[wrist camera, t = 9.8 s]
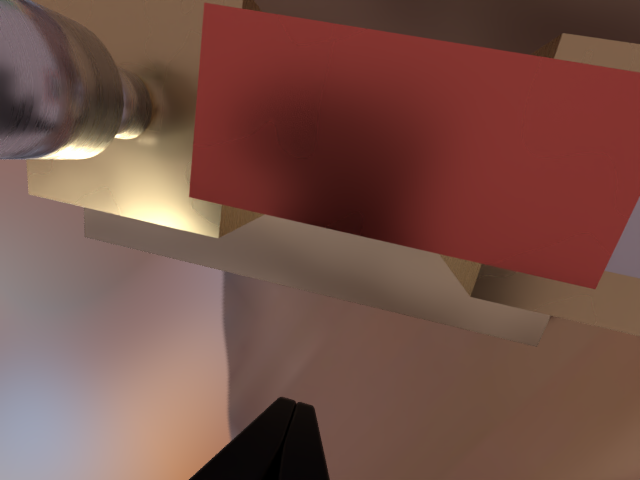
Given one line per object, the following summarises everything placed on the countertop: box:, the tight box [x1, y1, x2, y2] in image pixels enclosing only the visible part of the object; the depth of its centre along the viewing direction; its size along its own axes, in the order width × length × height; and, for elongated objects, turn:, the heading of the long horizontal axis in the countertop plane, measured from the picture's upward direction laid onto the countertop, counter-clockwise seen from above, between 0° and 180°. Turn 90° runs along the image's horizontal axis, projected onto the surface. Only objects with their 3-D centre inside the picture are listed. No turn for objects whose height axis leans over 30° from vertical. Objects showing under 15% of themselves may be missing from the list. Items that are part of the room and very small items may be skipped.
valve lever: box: [189, 3, 640, 289], centre depth 4 cm, size 9×3×2 cm, turn 79°
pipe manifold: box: [0, 0, 640, 336], centre depth 8 cm, size 6×23×10 cm, turn 79°
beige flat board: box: [84, 0, 640, 347], centre depth 14 cm, size 13×22×2 cm, turn 79°
